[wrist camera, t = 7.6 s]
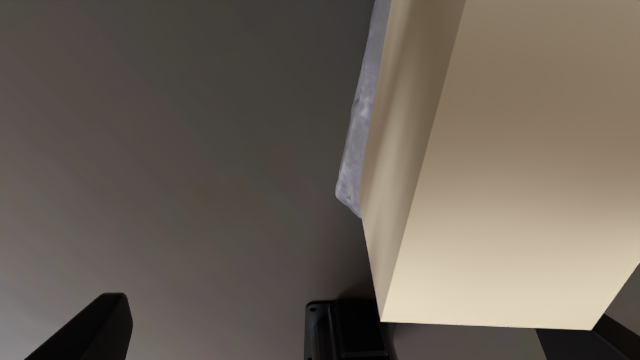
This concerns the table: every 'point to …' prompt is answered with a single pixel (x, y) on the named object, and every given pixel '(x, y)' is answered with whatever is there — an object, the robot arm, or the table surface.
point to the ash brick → (504, 162)
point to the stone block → (362, 110)
